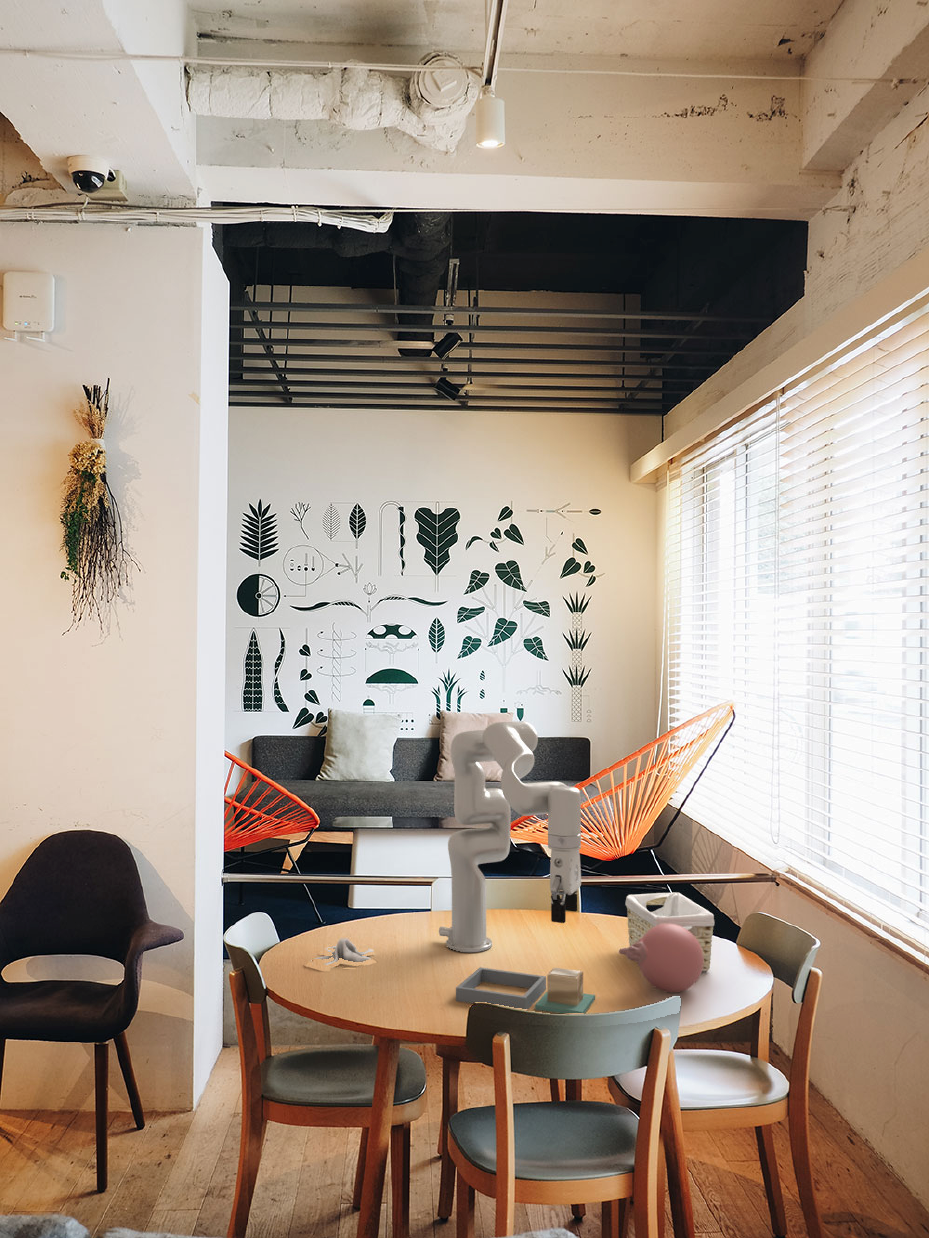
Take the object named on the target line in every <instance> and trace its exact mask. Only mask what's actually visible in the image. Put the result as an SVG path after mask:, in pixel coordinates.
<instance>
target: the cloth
mask: <svg viewBox="0 0 929 1238" xmlns="http://www.w3.org/2000/svg"><path fill="white" fill-rule="evenodd" d="M326 948H327V951H328V952H332V951H330V950H328V948H333V949H335V951H334V952H332V954H333V955H332V956H318V957H316V958H314V959H322V960H323V959H329V958H331V957H333V958H334V960H333V961H331V962H328V963H326V964H324V965H329V964H332V963H334V962H337V961H338V960H339V958H342V959H344V960H348V961H353V962H363V961H366V960H369V959H371V957H370V956H368V957H367V956H362V955H364V954H366V953H368V952H373V951H374V950H373V948H369V949H368V950H367V951H365V952H358V951H357V949H358V948H357V947H356V945H355V944H354V943H353V942H352V941H350V940H349V938H347V937H344V938H343V937H341V938H339V940H338V941H337V944H336V945H334V946H328V947H325V948H324V949H326ZM310 960H311V961H312V959H310ZM312 964H313V963H312Z"/></svg>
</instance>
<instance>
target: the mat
mask: <svg viewBox="0 0 929 1238" xmlns="http://www.w3.org/2000/svg"><path fill="white" fill-rule="evenodd" d="M595 1001H596V994H591V993H590V994H589V993H584V992H583V999H582V1000H581V1002H580V1003H579V1004H578V1006H576V1005H569V1004H562V1003H555V1002H549V1001H548V990H547V991H546V992H544V994H543V995H542V996H541V998H540V999H539V1000H538V1001H537V1002H536V1003H535V1004H534V1009H535V1011H542V1012H551V1013H556V1012H557V1014H562V1013H585V1014H586V1013H587V1011H588V1010H589V1008H590V1007H591V1006H592V1005H591V1004H593V1003H594V1002H595Z"/></svg>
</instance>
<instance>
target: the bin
mask: <svg viewBox="0 0 929 1238" xmlns="http://www.w3.org/2000/svg"><path fill="white" fill-rule="evenodd" d="M481 983H490V984H496V985H505V986H509V987H510V986H512V987H518V988H525V989H528V990H526V992H525V993H524V994H523V995H521V994H515V993H514V994H512V993H507V992H501V991H500V992H499V991H493V990H485V989H480V988H479V989H477V987H478V986H479V985H480V984H481ZM546 990H547V976H546V975H538V974H532V973H523V972H516V971H509V970H504V969H503V970H502V969H501V970H500V969H495V968H488V967H478V968H477V969H476V970H475V971H474V972H473V973H471V974H470V975H469V976H468V977H467V978H466V979H464V980H463V981H462V982H461V983H459V985H457V986H456V987H455V1001H456V1002H462V1003H466V1004H467V1003H468V1004H469V1003H470V1004H473V1003H475V1002H487V1003H491V1004H499V1005H504V1006H509V1007H514V1008H522V1009H528V1010H529V1009H530V1007H532V1006H533V1005H534V1003H535V1002H536V1001H537V1000H538V999H539V998H540V996H541V995H542V994H543V993H545V991H546Z"/></svg>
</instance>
